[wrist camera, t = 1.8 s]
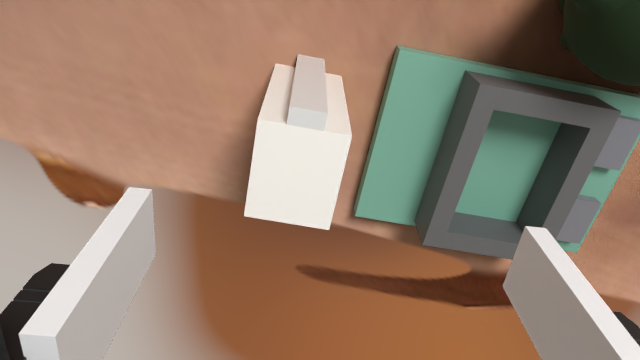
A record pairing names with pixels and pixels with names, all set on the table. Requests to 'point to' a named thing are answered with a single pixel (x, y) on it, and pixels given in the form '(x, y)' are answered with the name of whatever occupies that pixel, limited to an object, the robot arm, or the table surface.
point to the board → (493, 153)
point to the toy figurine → (604, 37)
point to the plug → (299, 146)
